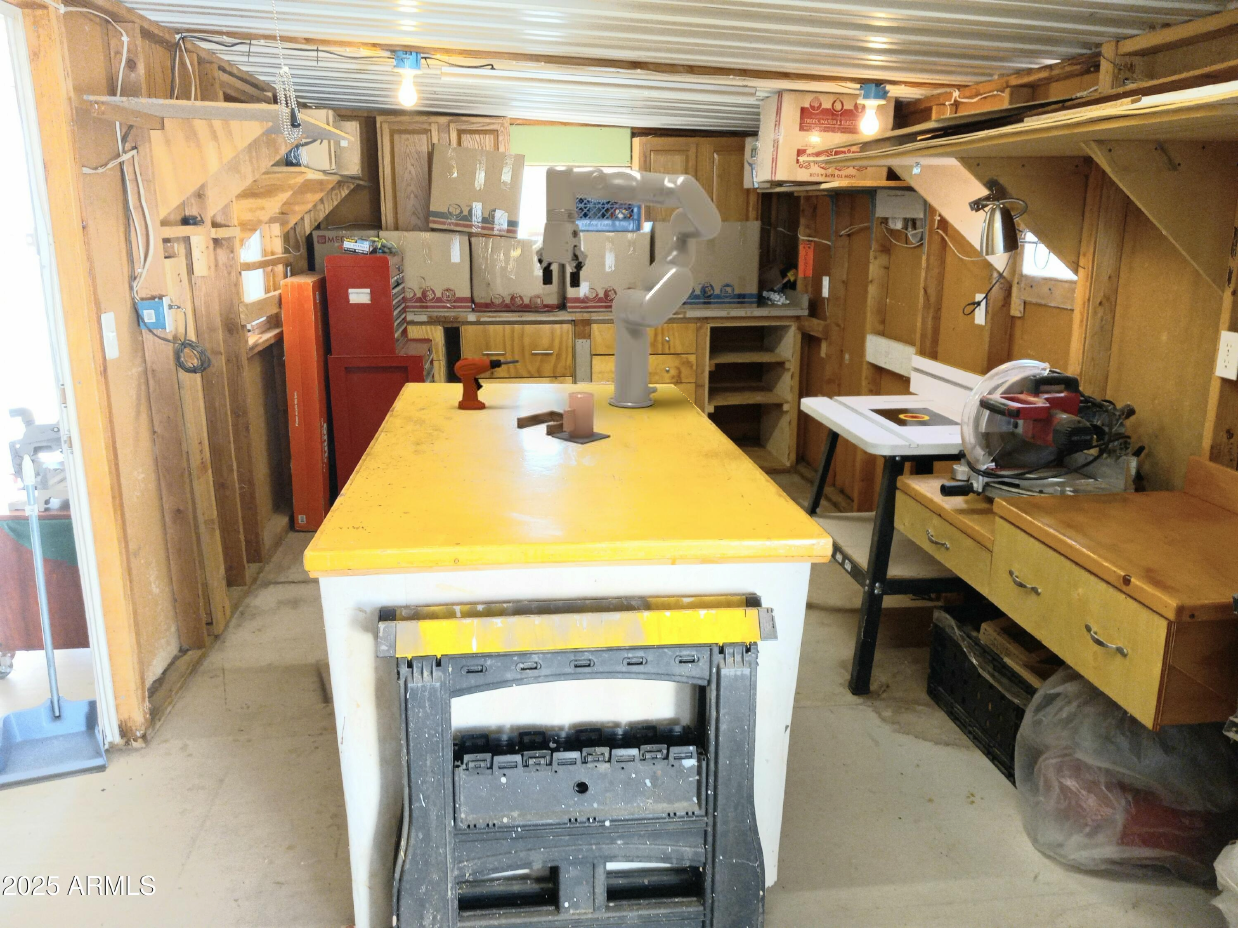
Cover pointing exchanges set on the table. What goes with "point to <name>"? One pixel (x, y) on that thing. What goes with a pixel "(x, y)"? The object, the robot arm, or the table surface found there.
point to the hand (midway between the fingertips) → (561, 286)
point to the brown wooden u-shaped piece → (543, 421)
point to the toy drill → (475, 379)
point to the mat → (580, 440)
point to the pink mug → (579, 415)
